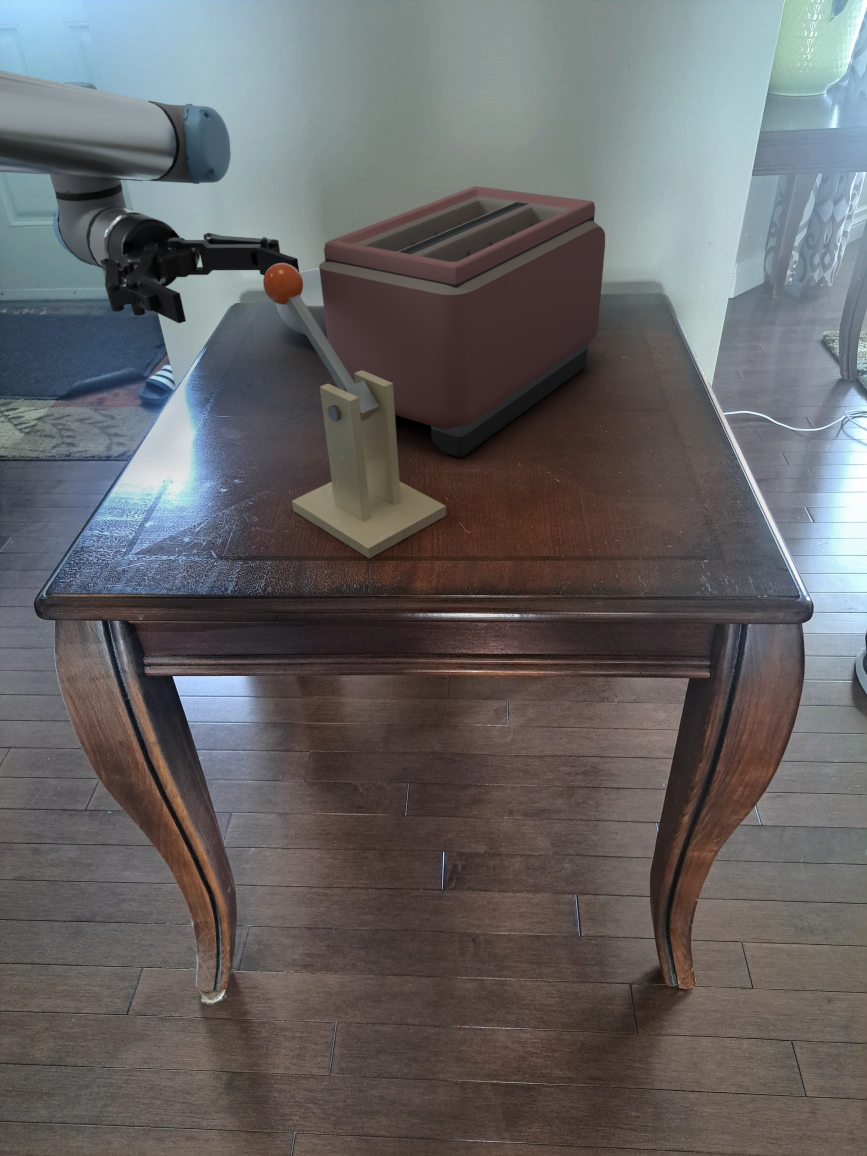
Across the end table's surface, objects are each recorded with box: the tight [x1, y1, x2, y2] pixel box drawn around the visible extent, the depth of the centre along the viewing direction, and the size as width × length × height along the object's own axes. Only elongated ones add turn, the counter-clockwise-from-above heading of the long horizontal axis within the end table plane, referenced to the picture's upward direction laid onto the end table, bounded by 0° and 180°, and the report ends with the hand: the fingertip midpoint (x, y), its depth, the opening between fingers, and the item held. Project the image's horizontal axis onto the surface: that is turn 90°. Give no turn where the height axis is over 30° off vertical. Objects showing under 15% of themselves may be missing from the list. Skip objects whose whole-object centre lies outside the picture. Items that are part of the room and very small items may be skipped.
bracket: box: [291, 370, 447, 559], centre depth 79 cm, size 12×10×14 cm
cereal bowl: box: [274, 267, 328, 340], centre depth 121 cm, size 17×17×7 cm
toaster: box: [318, 185, 606, 458], centre depth 99 cm, size 19×36×21 cm, turn 144°
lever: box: [262, 263, 380, 422], centre depth 76 cm, size 16×4×4 cm
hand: (240, 290), depth 82 cm, fingers open, 13 cm apart
